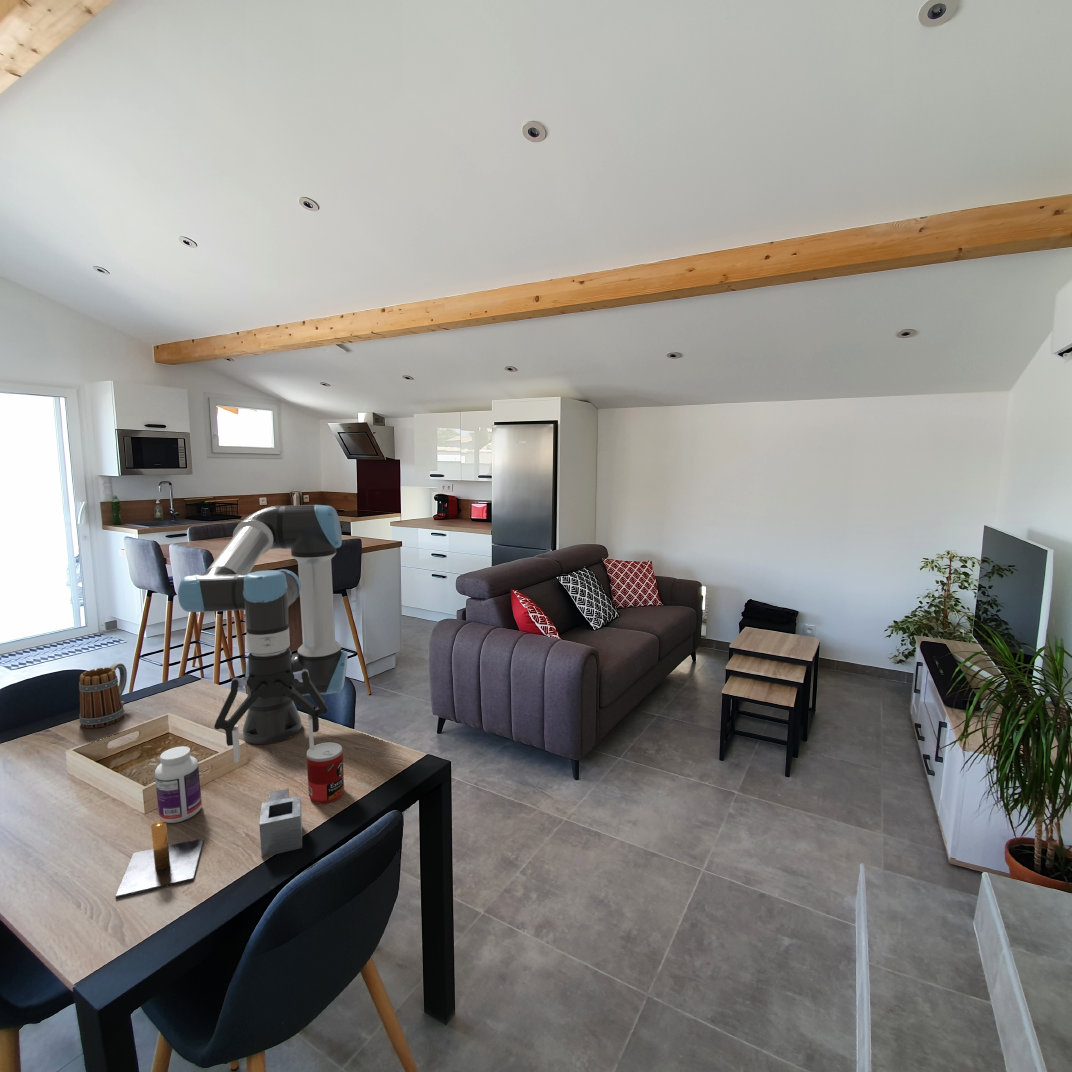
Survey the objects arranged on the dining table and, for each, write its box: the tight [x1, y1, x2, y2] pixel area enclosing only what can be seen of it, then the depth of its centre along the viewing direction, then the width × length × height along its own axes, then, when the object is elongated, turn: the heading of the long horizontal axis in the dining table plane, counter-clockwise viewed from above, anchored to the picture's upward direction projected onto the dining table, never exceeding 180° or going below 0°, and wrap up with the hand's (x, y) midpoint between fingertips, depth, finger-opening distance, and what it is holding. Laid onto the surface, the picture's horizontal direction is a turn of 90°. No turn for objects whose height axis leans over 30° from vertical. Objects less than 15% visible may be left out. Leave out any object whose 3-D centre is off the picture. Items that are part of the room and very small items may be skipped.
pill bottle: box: [154, 746, 203, 824], centre depth 125 cm, size 8×8×14 cm
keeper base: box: [115, 820, 204, 900], centre depth 109 cm, size 12×12×9 cm
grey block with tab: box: [267, 788, 290, 802], centre depth 126 cm, size 10×4×3 cm, turn 22°
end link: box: [259, 795, 303, 858], centre depth 117 cm, size 7×7×7 cm
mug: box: [78, 662, 128, 729], centre depth 171 cm, size 16×11×15 cm
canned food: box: [306, 741, 345, 804], centre depth 133 cm, size 8×8×11 cm
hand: (275, 753), depth 115 cm, fingers open, 13 cm apart
